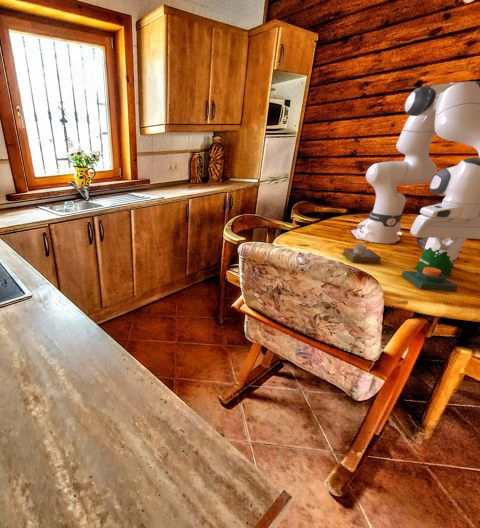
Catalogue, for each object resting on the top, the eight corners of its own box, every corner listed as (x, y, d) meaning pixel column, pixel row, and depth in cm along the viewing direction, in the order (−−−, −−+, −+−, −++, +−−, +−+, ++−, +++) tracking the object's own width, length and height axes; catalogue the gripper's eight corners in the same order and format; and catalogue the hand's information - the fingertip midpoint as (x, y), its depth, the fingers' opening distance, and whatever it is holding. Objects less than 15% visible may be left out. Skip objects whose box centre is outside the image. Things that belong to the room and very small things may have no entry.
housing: (401, 275, 109) (404, 266, 107) (432, 277, 107) (436, 268, 105) (420, 289, 99) (424, 279, 98) (455, 291, 97) (460, 281, 95)
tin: (413, 245, 136) (420, 229, 132) (419, 245, 136) (426, 228, 132) (448, 257, 122) (457, 239, 118) (455, 256, 122) (463, 238, 119)
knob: (351, 251, 126) (353, 242, 124) (361, 252, 125) (364, 243, 123) (355, 255, 122) (358, 245, 120) (366, 255, 121) (368, 246, 119)
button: (419, 271, 104) (421, 266, 103) (433, 272, 103) (435, 267, 102) (427, 276, 100) (429, 271, 99) (442, 277, 99) (444, 272, 98)
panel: (339, 254, 131) (341, 247, 130) (367, 255, 128) (369, 248, 127) (350, 262, 122) (352, 256, 121) (380, 264, 119) (382, 257, 118)
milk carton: (411, 266, 115) (429, 220, 107) (437, 267, 114) (457, 220, 105) (427, 276, 108) (448, 226, 99) (455, 277, 106) (479, 226, 98)
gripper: (490, 208, 92) (471, 247, 97) (415, 208, 97) (401, 245, 103) (508, 212, 86) (488, 253, 92) (427, 212, 92) (413, 251, 97)
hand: (441, 249), depth 97 cm, fingers closed
